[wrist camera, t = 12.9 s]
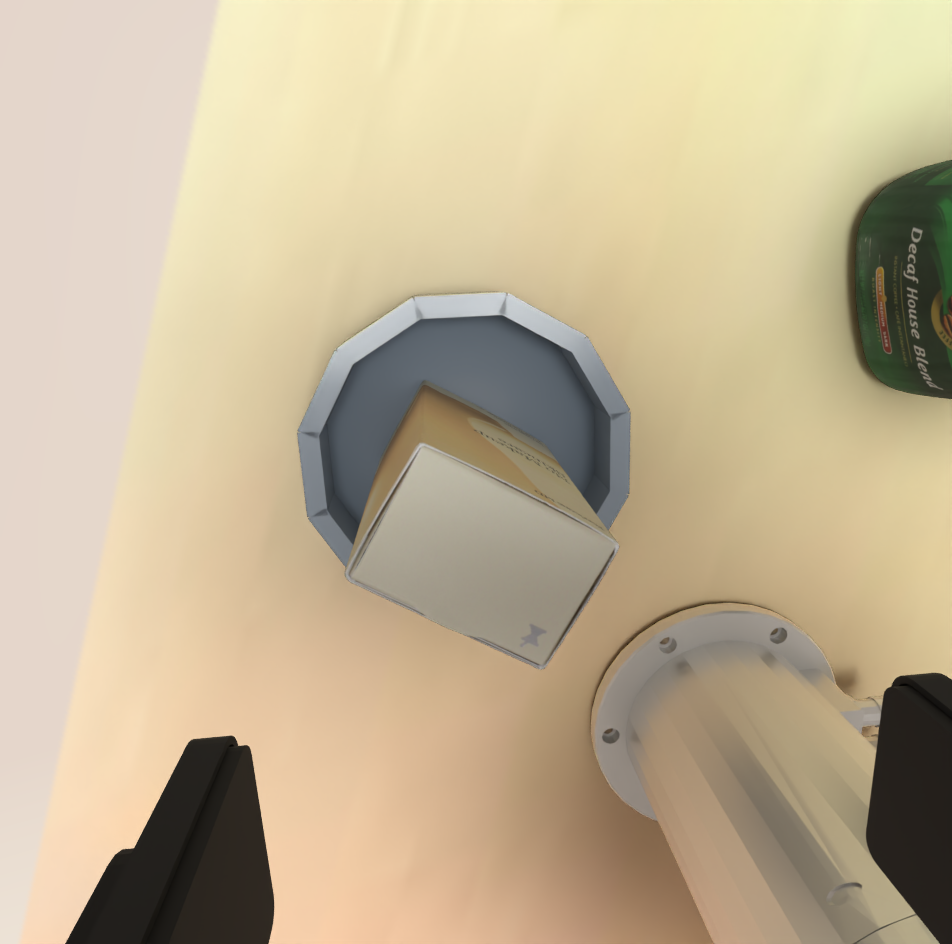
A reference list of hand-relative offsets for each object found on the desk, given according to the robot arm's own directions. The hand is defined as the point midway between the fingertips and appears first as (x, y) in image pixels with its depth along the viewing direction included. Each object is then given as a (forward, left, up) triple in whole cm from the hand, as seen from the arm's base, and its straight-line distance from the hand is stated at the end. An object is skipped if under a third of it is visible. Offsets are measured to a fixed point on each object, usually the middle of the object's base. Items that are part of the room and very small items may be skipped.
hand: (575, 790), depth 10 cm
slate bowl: (0, 0, -21) cm, 21 cm away
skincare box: (0, 0, -20) cm, 20 cm away
